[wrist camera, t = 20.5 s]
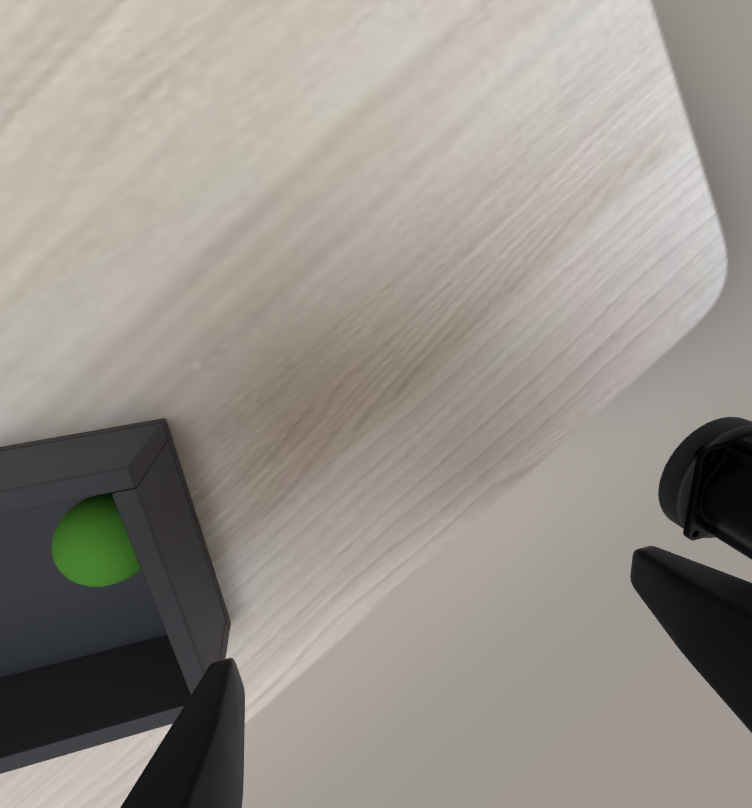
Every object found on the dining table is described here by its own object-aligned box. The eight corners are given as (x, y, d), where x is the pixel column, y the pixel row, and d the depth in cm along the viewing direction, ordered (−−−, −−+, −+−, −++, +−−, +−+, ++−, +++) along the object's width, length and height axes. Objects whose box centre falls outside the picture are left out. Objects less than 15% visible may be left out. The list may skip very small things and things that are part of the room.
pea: (159, 532, 19) (179, 572, 16) (69, 573, 17) (75, 625, 14) (135, 466, 18) (152, 498, 15) (35, 501, 16) (34, 544, 13)
